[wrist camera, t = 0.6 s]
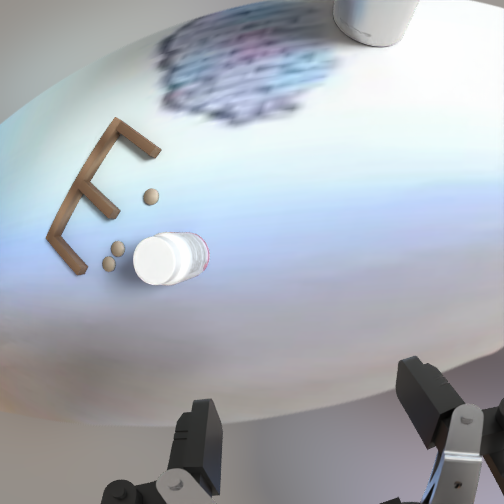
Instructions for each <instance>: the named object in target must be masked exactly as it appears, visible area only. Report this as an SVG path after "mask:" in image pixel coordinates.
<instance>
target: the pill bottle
mask: <svg viewBox="0 0 504 504" xmlns="http://www.w3.org/2000/svg"><path fill="white" fill-rule="evenodd" d="M209 259H210V252H209V248H208V246H207V244H206V242H205V241H204V239H203V238H202V237H200V236H199V235H197V234H194V233H189V232H184V233H183V232H163V233H159V234H156V235H154V236H153V237H148V238H146V239H144V240H142V241H141V242H140V243H139V244H138V246H137V247H136V249H135V252H134V256H133V264H134V268H135V271H136V273H137V275H138V276H139V277H140V279H142V280H143V281H144V282H145V283H148V284H150V285H174V284H177V283H180V282H182V281H185V280H188V279H190V278H193V277H196V276H198V275H200V274H201V273H202V272H203V271H204V270H205V269H206V267H207V265H208V263H209Z"/></svg>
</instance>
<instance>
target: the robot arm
mask: <svg viewBox="0 0 504 504" xmlns="http://www.w3.org/2000/svg"><path fill="white" fill-rule="evenodd" d="M419 1H420V0H334V9H333V16H334V20H335V22H336V24H337V26H338V27H339V28H340V29H341V30H342V31H343V32H344V33H345V34H346V35H348V36H349V37H351V38H352V39H354V40H356V41H358V42H361V43H364V44H367V45H371V46H381V47H383V46H390V45H393V44H396V43H397V42H399V41H400V40H401V39H402V37H403V36H404V33H405V31H406V29H407V27H408V25H409V23H410V20H411V18H412V16H413V14H414V12H415V10H416V7H417V5H418V3H419ZM396 393H397V397H398V399H399V401H400V402H401V404H402V406H403V407H404V409H405V411H406V413H407V414H408V416H409V418H410V420H411V421H412V423H413V425H414V427H415V428H416V430H417V432H418V434H419V435H420V437H421V439H422V441H423V443H424V444H425V446H426V448H427V450H428V449H430V448H433V447H435V446H436V447H437V449H438V452H437V455H436V459H435V462H434V465H433V469H432V472H431V475H430V479H429V482H428V484H427V487H426V490H425V492H424V494H423V497H422V499H421V501H420V503H418V502H402V503H401V501H400V499H399V497H398V498H395V499H392V500H389V501H386V502H383V503H380V504H473V503H474V499H475V495H476V490H477V486H478V481H479V476H480V470H481V465H482V457H481V456H483V457H484V459H485V461H486V463H487V465H488V467H489V468H490V470H491V472H492V474H493V476H494V478H495V480H496V482H497V483H498V485H499V487H500V489H501V491H502V493H503V495H504V398H503V399H502V400H501V403H500V405H499V406H498V407H493V408H489V409H484V410H481V409H480V408H479V407H477V406H476V405H473V404H465V402H464V401H463V400H462V399H461V397H460V396H459V395H458V394H457V392H456V391H455V390H454V388H453V387H452V386H451V385H450V383H448V381H447V380H446V379H445V377H443V375H442V374H441V372H440V371H439V370H438V369H437V368H436V367H434V366H432V365H431V364H429V363H427V364H424V365H423V363H422V362H421V361H420V360H419V358H418V357H417V356H413V357H410V358H406V359H403V360H400V361H399V363H398V371H397V380H396ZM222 437H223V431H222V424H221V421H220V418H219V416H218V413H217V410H216V408H215V405H214V402H213V400H212V399H202V400H194V401H193V405H192V411H191V412H187V413H183V414H182V416H181V417H180V418H179V420H178V421H177V424H176V430H175V434H174V441H173V444H172V449H171V454H170V459H169V464H168V468H167V471H165V472H163V473H162V474H161V475H160V476H159V477H158V479H157V480H156V481H154V482H150V483H146V484H141V485H136V486H134V485H133V484H132V483H131V482H129V481H127V480H116V481H113V482H111V483H110V484H109V485H107V487H106V488H105V490H104V493H103V497H102V501H101V504H216V502H215V501H214V500H213V499H212V496H214V495H220V480H221V458H222V439H223V438H222Z"/></svg>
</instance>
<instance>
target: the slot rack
mask: <svg viewBox="0 0 504 504" xmlns="http://www.w3.org/2000/svg"><path fill="white" fill-rule="evenodd" d="M120 134H122V135H123V136H125V137H126V138H127V139H129V140H130V141H131V142H133V143H134V144H135V145H137V146H138V147H139V148H140V149H142V150H143V151H144V152H146V153H147V154H148V155H150V156H152V157H154V158H156V157H157V156H158V154H159V153H160V151H161V149H160V148H159V147H157V146H156V145H155V144H153V143H152V142H151V141H149V140H148V139H146V138H145V137H144V136H142V135H141V134H140V133H138V132H137V131H135V130H134V129H133V128H131V127H130V126H129V125H127V124H126V123H124V122H123V121H122V120H120V119H118V118H117V117H115V118H114V119H113V121H112V122H111V124H110V125H109V127H108V128H107V129H106V131H105V132H104V134H103V135H102V137H101V138H100V140H99V141H98V143H97V145H96V146H95V148H94V149H93V151H92V152H91V154H90V156H89V157H88V159H87V161H86V162H85V164H84V166H83V167H82V169H81V171H80V172H79V174H78V176H77V177H76V179H75V181H74V183H73V185H72V186H71V188H70V190H69V192H68V194H67V196H66V197H65V199H64V201H63V203H62V205H61V207H60V209H59V211H58V213H57V215H56V217H55V219H54V221H53V223H52V225H51V227H50V229H49V232H48V234H47V236H46V239H47V240H48V242H49V243H50V244H51V245H52V247H53V248H54V249H55V250H56V251H57V253H58V254H59V255H60V256H61V257H62V259H63V260H64V261H65V262H66V263H67V264H68V265H69V267H70V268H71V269H72V270H73V271H74V272H75V273H76V275H82V274H85V272H86V270H87V268H88V266H87V265H86V264H85V263H84V262H83V260H82V259H81V258H80V257H79V256H78V255H77V254H76V253H75V252H74V251H73V249H72V248H71V247H70V246H69V245H68V244H67V243H66V241H65V240H64V239H63V238H62V237H61V235H62V233H63V230H64V229H65V227H66V225H67V223H68V221H69V219H70V217H71V215H72V213H73V211H74V209H75V207H76V206H77V204H78V202H79V200H80V198H81V197H82V195H83V194H84V195H85V196H86V197H87V198H88V199H89V200H90V201H91V202H92V203H93V204H94V205H95V206H96V207H97V208H98V209H99V210H100V211H101V212H102V213H103V214H104V215H105V216H106V217H107V218H109V219H116V217H117V216H118V214H119V213H120V211H121V210H119V209H118V208H117V207H116V206H115V205H114V204H113V203H112V202H111V201H110V200H109V199H108V198H107V197H105V196H104V195H103V194H102V193H101V192H100V191H99V190H98V189H97V188H96V187H95V186H94V185H93V184H92V183H91V182H90V181H91V179H92V178H93V176H94V174H95V173H96V171H97V169H98V168H99V166H100V165H101V163H102V161H103V160H104V158H105V157H106V155H107V154H108V152H109V151H110V149H111V148H112V146H113V145H114V143H115V142H116V140H117V139H118V137H119V136H120ZM158 199H159V193H158V191H157V190H155V189H148V190H147V191H146V192H145V194H144V201H145V203H147V204H149V205H154V204H155V203H157V201H158ZM111 251H112V254H113V255H114V256H116V257H120V256H122V255H123V254H124V252H125V247H124V244H123V243H122V242H120V241H116V242H114V243H113V244H112V246H111ZM102 264H103V268H104V270H105V271H107V272H111V271H113V270H114V269H115V266H116V263H115V260H114V259H113V258H112V257H105V258H104V260H103V263H102Z"/></svg>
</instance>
